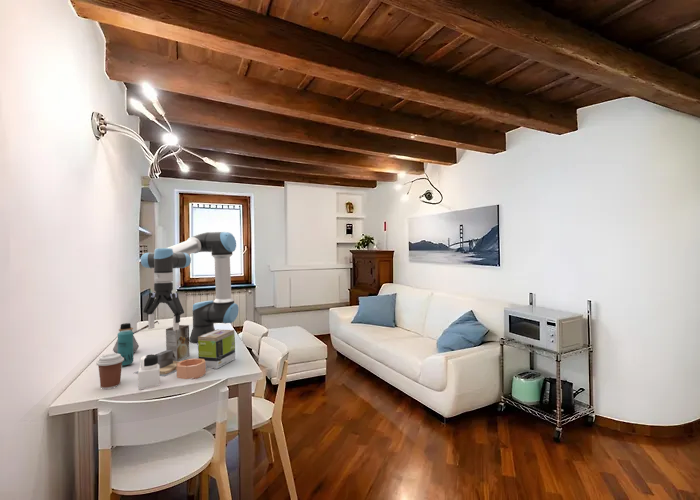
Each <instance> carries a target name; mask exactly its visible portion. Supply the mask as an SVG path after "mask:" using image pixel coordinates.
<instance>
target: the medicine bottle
mask: <svg viewBox="0 0 700 500" xmlns="http://www.w3.org/2000/svg"><path fill="white" fill-rule="evenodd" d="M139 363H140V364H139V365H140V366H139V368H138V374H137V381H138V382H137V384H138V385H137V390H138V391H143V390H145V389H147V388H148V389H149V388H154V387H159V386H160V381H161V380H160V379H161V376H160V365H159V364H158V356H157V355H155V354H152V353H151V354H146V355H143V356H141V357H140V361H139Z"/></svg>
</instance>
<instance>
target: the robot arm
mask: <svg viewBox="0 0 700 500" xmlns="http://www.w3.org/2000/svg"><path fill="white" fill-rule="evenodd" d="M236 248H237V241H236V237H235V236H234V235H233V233H231V232H227V231H215V232H211V231H210V232H203V233H198V234H196V235H193V236H191V237H187V240H185V241H182V242H180V243H177V244H174V245H171V246H168V247H157V248H155V249H154V252H150V251H149V252H145V253H143V254H142V255H141V257H140V264H141V266H142V267H143V268H145V269H153V271H154V273H153V282H154V284H153V291H154V292H149V293H148V297H147V298H148V299H147V301H146V303H145V306H144V308H143V310H142V311H143V313H145V314H146V315H147V316H146V317H147V318H146V319H147V325H148V328H147V329H148V330H151V329H154V328H155V324H154V322H155V313H154V312H155V310H156V309H157V308H158V306H159V305H160V304H162V303H163V304H166V305H168V308H169V309H170V310H171V312H172V313H173V316H172V327H173V331H175V330H178V329H179V325H180V322H181V315H183V314H185V310H184V308H183V306H182V304H181V301H180V297H179V293H178V292H174V293H173V292H172V291H173V290H174V282H173V281H174V275H173V274H174V269H184V268H188V267H189V266H190V265H191V263H192V262H191V261H192V258H191V256H190V255H191V254H197V253H211V256H212V258H214V279H215V280H214V281H215V299H214V300H212V299H211V300H204V301H199V302H195V303H193V305H192V311H191V312H192V330H191V333H190V335H189V343H193V344H194V343H195V344H198V337H199V336H201V335H204V334H207V333H209V332H212V331H215V330H216V329H215V326H214V325H215V324H233V322H235V321H236V319H237V318H238V314H239V305H238V304H237V303H235V299H234V298H233V297H232V282H231V280H232V278H231V256H232V255H233V252H235V250H236Z"/></svg>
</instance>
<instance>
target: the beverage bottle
mask: <svg viewBox="0 0 700 500" xmlns="http://www.w3.org/2000/svg"><path fill="white" fill-rule="evenodd" d="M128 328H132V325H131V322H130V323H129V322H126V323H122V324H120V326H119V329H128ZM133 332H134V331H133V330H132V331H131V330H124V331H119V332H118V333H117V339H118V351H117V352H118V354H121V356H122V357H123V358H124V361H123V362H122V366H127V365H131V364H133V363H134V353H133V346H134V345H133V336H134V334H133Z"/></svg>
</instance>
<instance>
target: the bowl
mask: <svg viewBox="0 0 700 500" xmlns="http://www.w3.org/2000/svg"><path fill="white" fill-rule="evenodd" d="M176 365H177V371H176V378H177V379H183V380H189V379H192V380H196V379H199V378H201V377H203V376H205V375H206V373H207V371H206V368H207V367H206V362H205V360H204V359H199V357H194V358H187V359H182V360H179V362H178V363H176Z"/></svg>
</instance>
